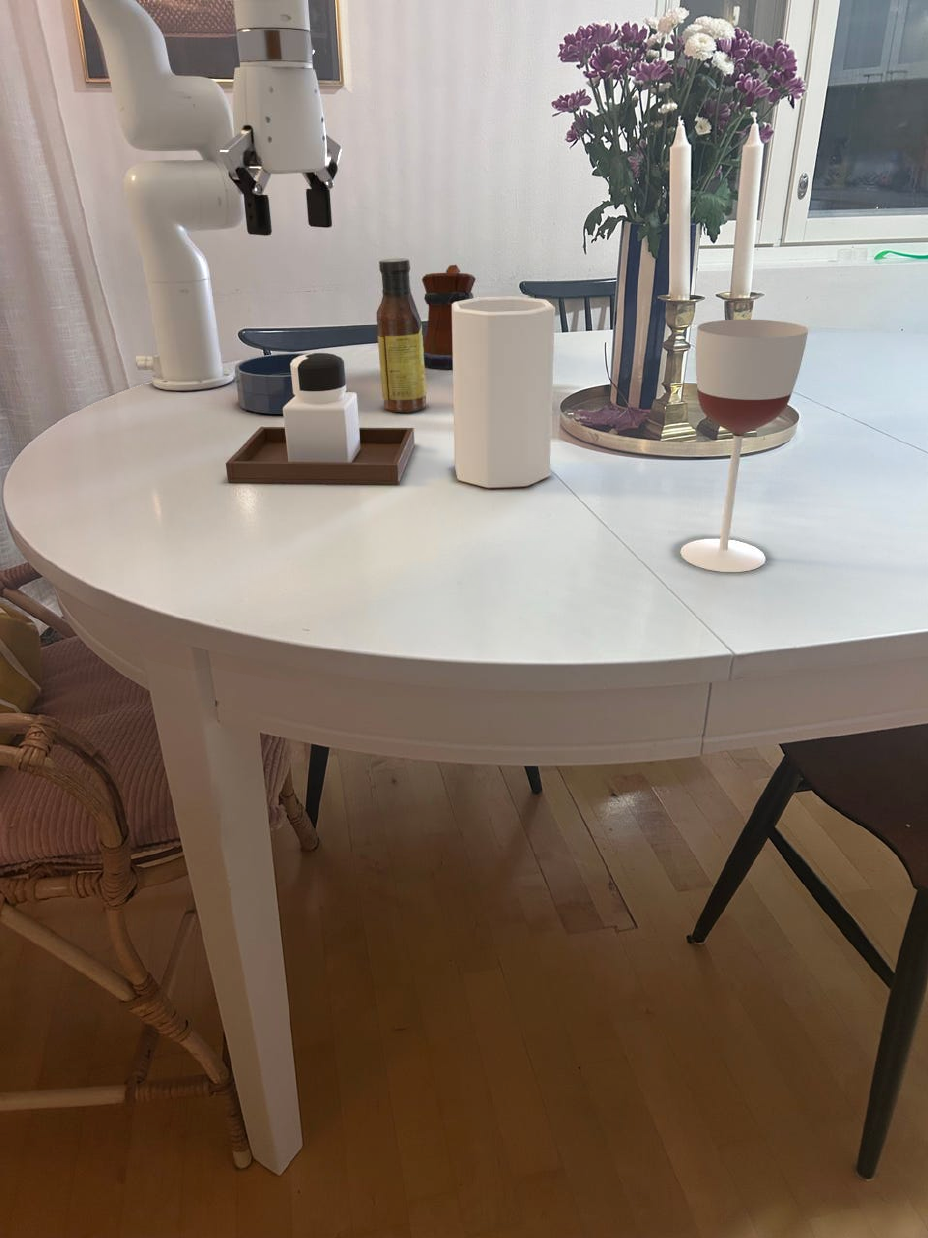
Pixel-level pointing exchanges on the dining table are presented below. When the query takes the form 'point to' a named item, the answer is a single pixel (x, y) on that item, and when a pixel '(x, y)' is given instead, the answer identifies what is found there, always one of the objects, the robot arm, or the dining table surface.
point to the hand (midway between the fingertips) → (291, 230)
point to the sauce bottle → (400, 340)
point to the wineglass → (742, 408)
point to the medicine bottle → (321, 412)
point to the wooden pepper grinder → (443, 313)
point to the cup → (502, 390)
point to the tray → (372, 465)
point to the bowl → (265, 382)
